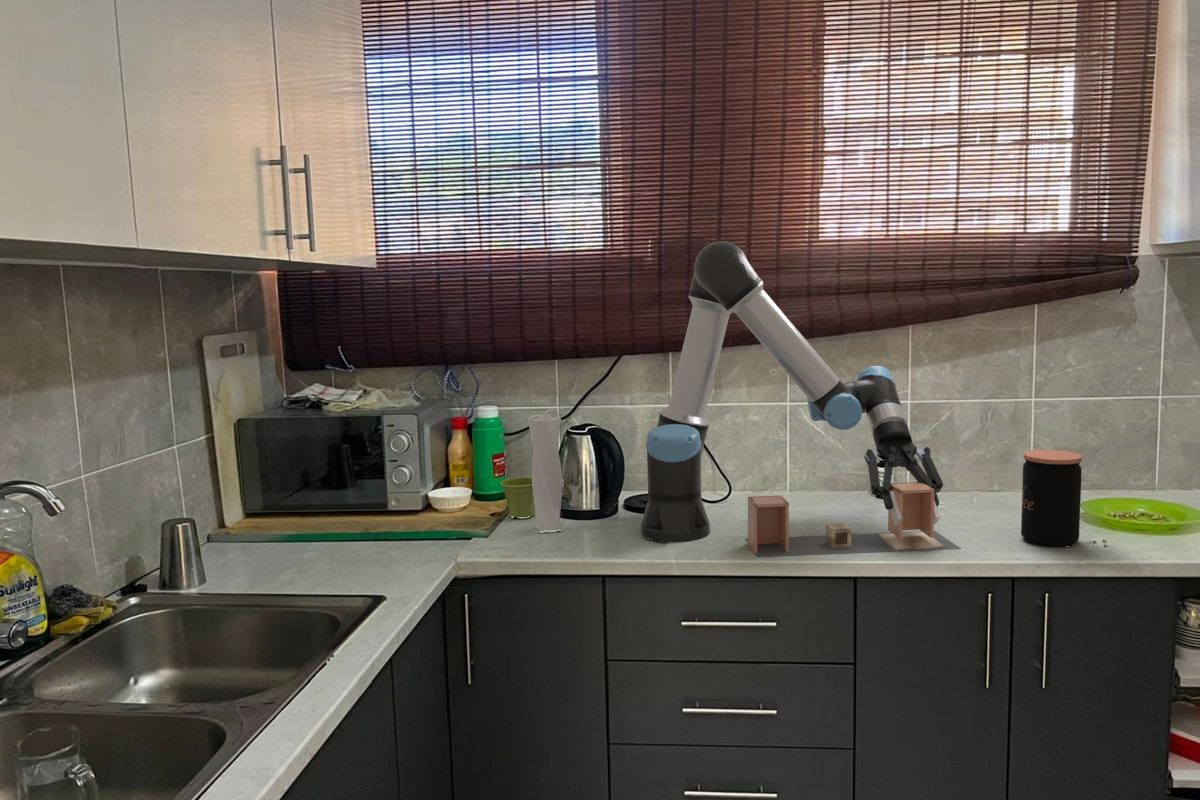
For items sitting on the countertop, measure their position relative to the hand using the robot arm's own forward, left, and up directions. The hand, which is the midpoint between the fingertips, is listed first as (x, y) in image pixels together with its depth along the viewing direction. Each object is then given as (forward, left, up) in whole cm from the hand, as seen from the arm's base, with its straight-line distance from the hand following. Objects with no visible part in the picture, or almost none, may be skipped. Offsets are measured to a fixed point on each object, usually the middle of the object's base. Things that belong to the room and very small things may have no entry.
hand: (917, 521), depth 179 cm
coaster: (0, +3, -5) cm, 6 cm away
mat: (-12, +4, -6) cm, 14 cm away
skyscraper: (-75, +24, -6) cm, 79 cm away
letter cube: (-15, +3, -5) cm, 16 cm away
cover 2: (0, +3, -4) cm, 5 cm away
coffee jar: (+28, +1, -6) cm, 29 cm away
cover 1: (-29, +3, -5) cm, 30 cm away
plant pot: (-82, +37, -6) cm, 90 cm away
